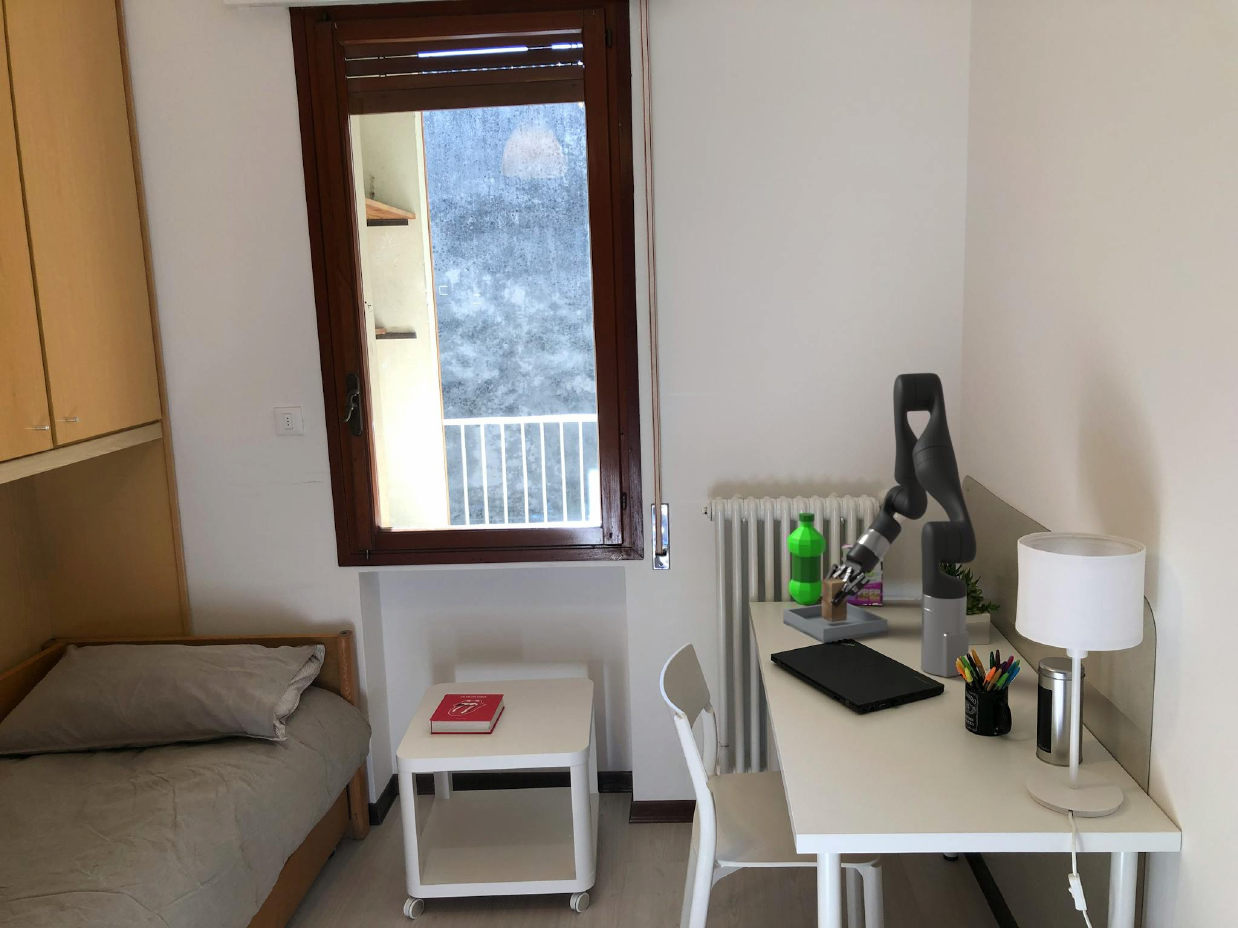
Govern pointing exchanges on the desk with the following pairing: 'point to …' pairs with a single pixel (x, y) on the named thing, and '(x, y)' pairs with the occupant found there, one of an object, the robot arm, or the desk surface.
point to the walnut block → (828, 593)
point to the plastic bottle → (806, 561)
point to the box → (834, 623)
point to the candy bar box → (872, 589)
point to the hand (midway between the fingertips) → (827, 601)
